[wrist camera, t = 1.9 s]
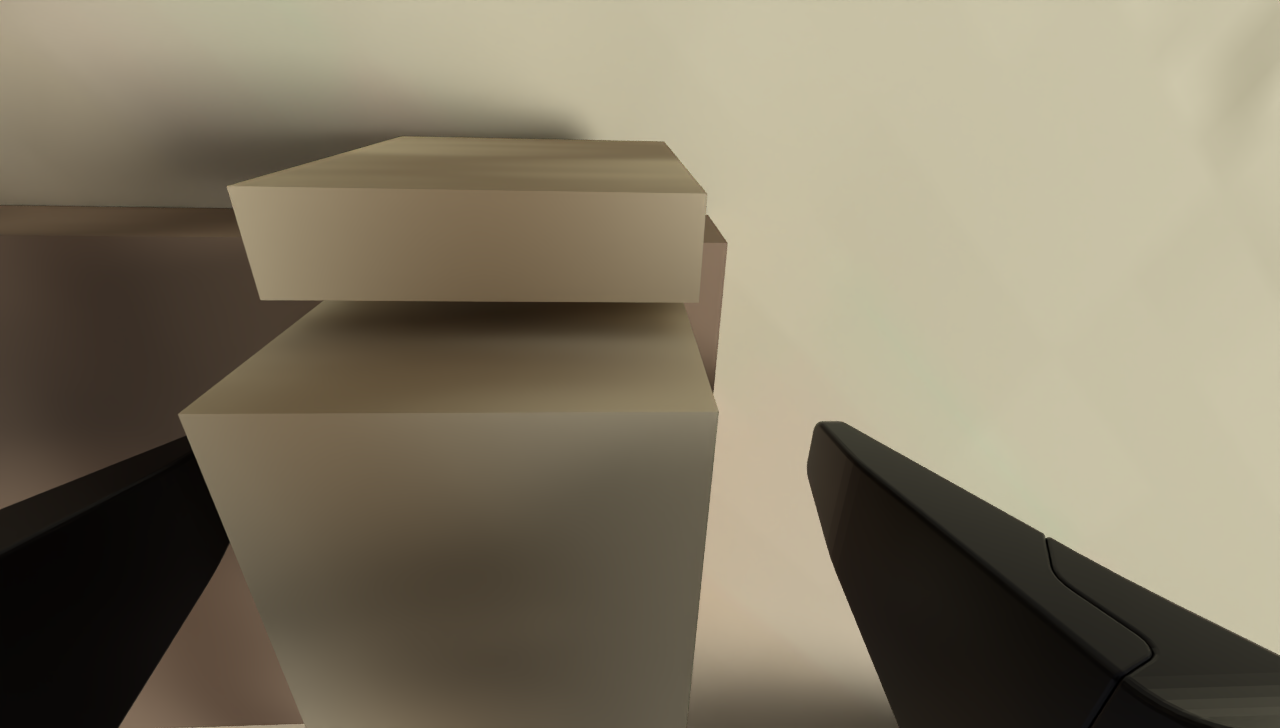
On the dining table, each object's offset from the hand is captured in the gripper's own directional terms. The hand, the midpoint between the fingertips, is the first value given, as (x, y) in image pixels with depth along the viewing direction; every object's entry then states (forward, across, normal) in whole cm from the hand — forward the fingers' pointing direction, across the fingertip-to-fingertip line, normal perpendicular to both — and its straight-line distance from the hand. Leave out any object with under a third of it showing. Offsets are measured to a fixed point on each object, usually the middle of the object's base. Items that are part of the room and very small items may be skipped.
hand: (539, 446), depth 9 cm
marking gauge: (+2, 0, +2) cm, 2 cm away
